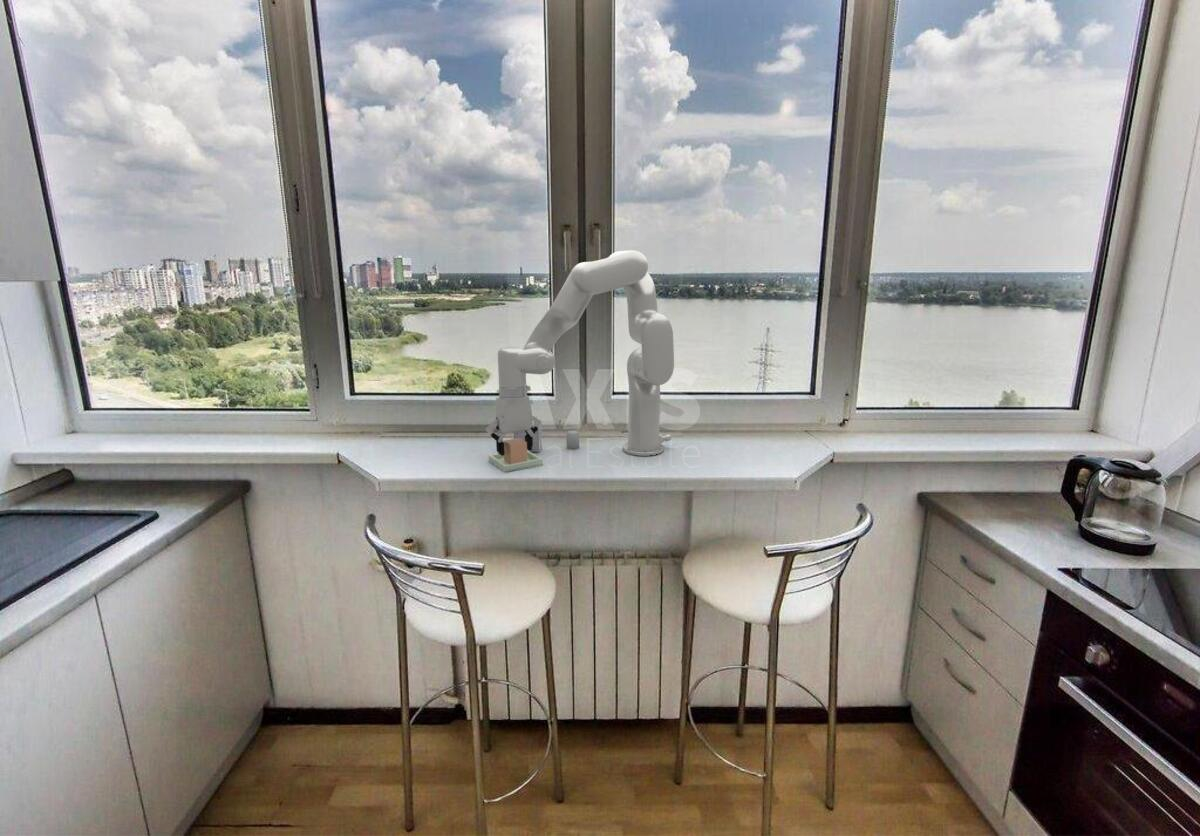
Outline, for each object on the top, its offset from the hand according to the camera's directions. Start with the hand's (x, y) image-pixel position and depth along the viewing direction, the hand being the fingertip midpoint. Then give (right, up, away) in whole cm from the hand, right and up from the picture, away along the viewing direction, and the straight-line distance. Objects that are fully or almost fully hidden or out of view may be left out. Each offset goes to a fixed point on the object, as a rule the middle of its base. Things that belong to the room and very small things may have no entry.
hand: (515, 451), depth 161 cm
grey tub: (+16, 0, +15) cm, 22 cm away
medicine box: (+2, -1, +13) cm, 13 cm away
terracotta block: (0, -3, +1) cm, 3 cm away
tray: (0, -3, +1) cm, 3 cm away
